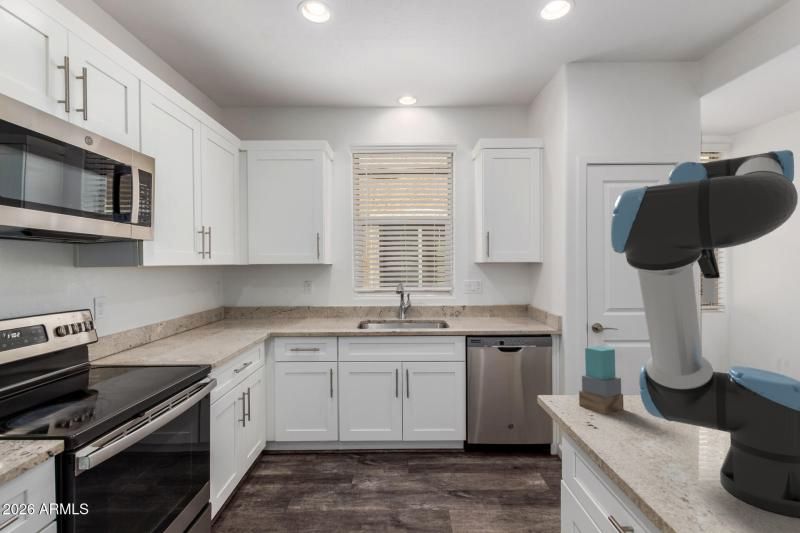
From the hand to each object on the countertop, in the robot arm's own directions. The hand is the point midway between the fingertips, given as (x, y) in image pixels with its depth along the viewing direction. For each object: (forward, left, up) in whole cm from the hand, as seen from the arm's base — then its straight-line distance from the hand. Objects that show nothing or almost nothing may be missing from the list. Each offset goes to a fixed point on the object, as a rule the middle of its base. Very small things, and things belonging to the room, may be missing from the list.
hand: (697, 303), depth 104 cm
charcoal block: (-2, +26, -30) cm, 40 cm away
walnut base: (-2, +27, -35) cm, 44 cm away
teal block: (-2, +27, -25) cm, 36 cm away
